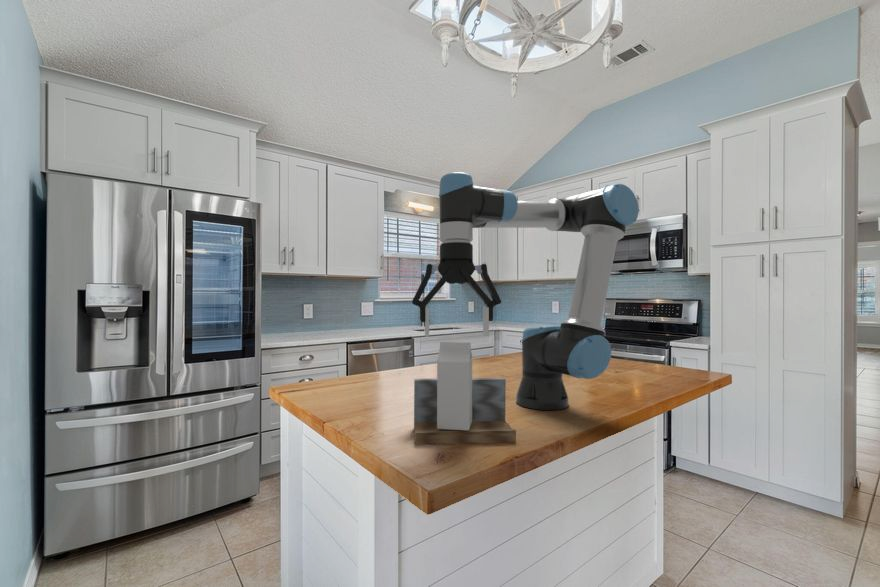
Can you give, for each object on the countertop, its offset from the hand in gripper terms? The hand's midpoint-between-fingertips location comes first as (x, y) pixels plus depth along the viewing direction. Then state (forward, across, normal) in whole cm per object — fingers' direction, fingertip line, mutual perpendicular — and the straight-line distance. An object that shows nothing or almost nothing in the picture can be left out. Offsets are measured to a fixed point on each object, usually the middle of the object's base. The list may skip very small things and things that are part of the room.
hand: (456, 336), depth 94 cm
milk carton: (+21, 0, 0) cm, 21 cm away
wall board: (+23, -1, -1) cm, 23 cm away
